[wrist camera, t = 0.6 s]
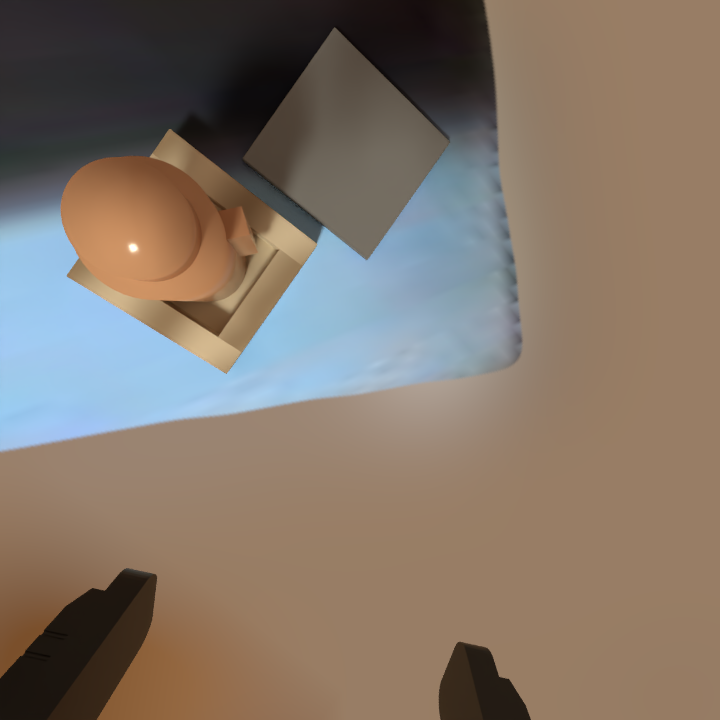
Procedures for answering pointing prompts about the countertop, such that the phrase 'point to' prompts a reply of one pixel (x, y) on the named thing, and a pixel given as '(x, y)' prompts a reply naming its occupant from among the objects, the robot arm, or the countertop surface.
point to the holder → (258, 290)
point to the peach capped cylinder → (154, 231)
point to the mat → (347, 146)
